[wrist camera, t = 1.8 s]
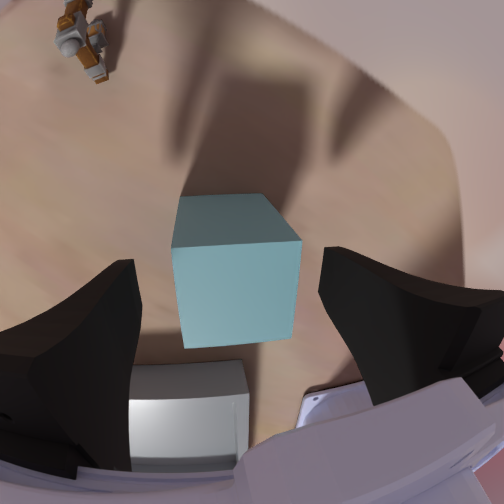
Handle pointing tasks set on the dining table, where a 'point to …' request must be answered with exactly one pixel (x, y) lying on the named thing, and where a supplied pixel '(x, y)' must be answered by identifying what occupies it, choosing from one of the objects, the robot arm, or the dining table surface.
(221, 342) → the block
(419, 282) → the robot arm
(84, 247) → the dining table surface
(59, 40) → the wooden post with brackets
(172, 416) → the tray
